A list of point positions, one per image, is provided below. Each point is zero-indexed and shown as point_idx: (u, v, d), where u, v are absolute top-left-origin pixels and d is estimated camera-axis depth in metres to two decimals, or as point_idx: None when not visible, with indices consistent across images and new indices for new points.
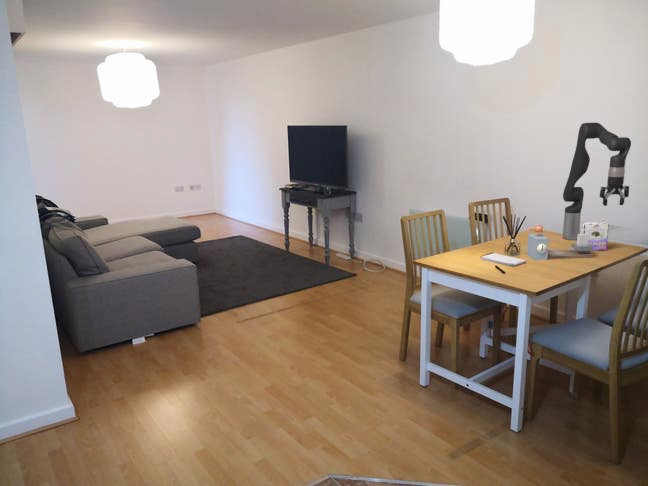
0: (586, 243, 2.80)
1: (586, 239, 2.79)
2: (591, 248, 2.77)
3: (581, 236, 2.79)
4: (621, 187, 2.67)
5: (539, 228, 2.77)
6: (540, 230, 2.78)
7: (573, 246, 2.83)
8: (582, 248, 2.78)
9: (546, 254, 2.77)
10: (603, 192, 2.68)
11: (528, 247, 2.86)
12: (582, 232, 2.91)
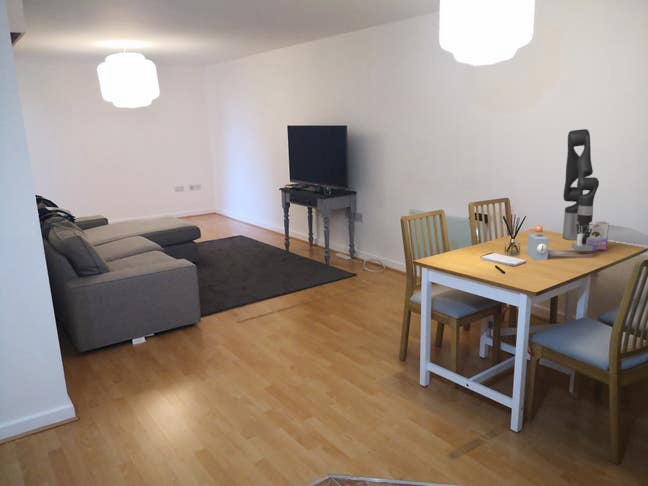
0: (586, 243, 2.80)
1: None
2: (591, 248, 2.77)
3: (581, 236, 2.79)
4: None
5: (539, 228, 2.77)
6: (540, 230, 2.78)
7: (573, 246, 2.83)
8: (582, 248, 2.78)
9: (546, 254, 2.77)
10: None
11: (528, 247, 2.86)
12: None
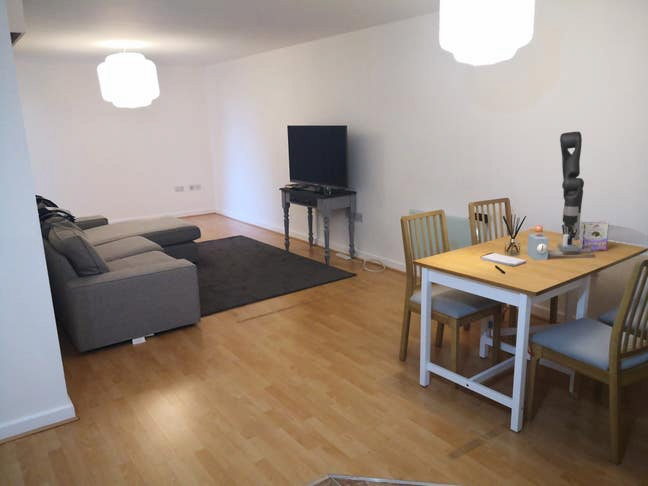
0: (572, 243, 2.80)
1: (572, 239, 2.79)
2: (576, 248, 2.78)
3: (567, 236, 2.79)
4: None
5: (539, 228, 2.77)
6: (540, 230, 2.78)
7: (559, 246, 2.84)
8: (568, 248, 2.78)
9: (546, 254, 2.77)
10: None
11: (528, 247, 2.86)
12: (582, 232, 2.91)
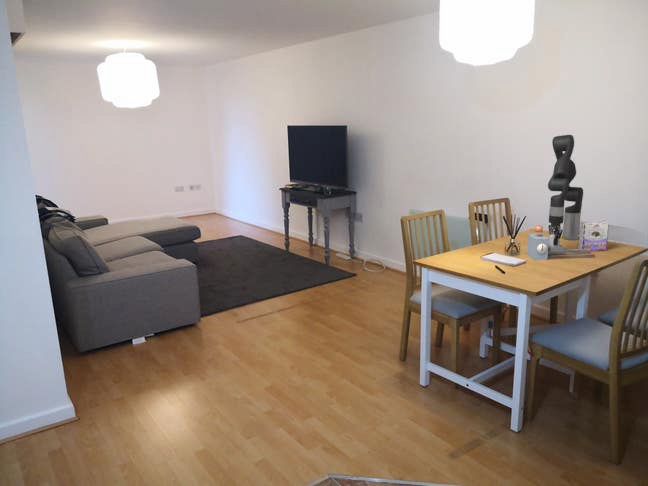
0: (558, 244, 2.80)
1: (558, 240, 2.80)
2: (562, 249, 2.78)
3: (553, 237, 2.79)
4: None
5: (539, 228, 2.77)
6: (540, 230, 2.78)
7: None
8: (554, 249, 2.78)
9: (546, 254, 2.77)
10: None
11: (528, 247, 2.86)
12: (582, 232, 2.91)
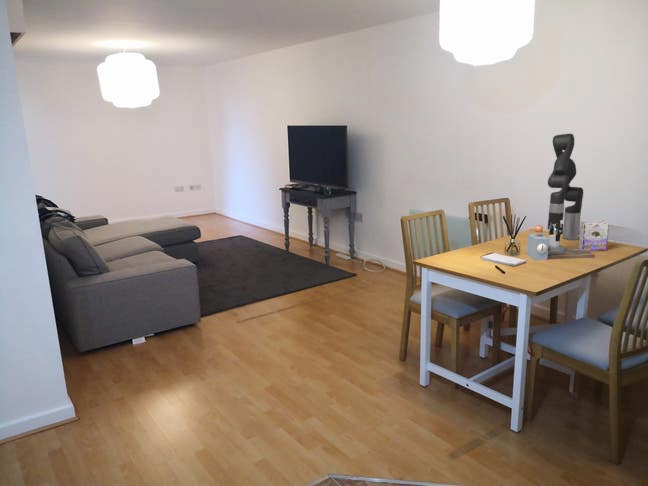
0: (557, 244, 2.80)
1: None
2: (562, 249, 2.78)
3: (552, 237, 2.79)
4: None
5: (539, 228, 2.77)
6: (540, 230, 2.78)
7: None
8: (553, 249, 2.78)
9: (546, 254, 2.77)
10: None
11: (528, 247, 2.86)
12: (582, 232, 2.91)
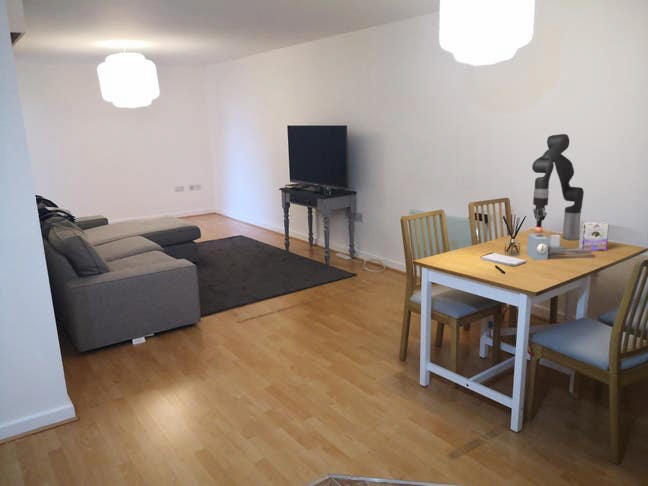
0: (557, 244, 2.80)
1: (557, 240, 2.80)
2: (562, 249, 2.78)
3: (552, 237, 2.79)
4: None
5: (539, 229, 2.78)
6: (540, 231, 2.78)
7: None
8: (553, 249, 2.78)
9: (546, 254, 2.77)
10: None
11: (528, 247, 2.86)
12: (582, 232, 2.91)
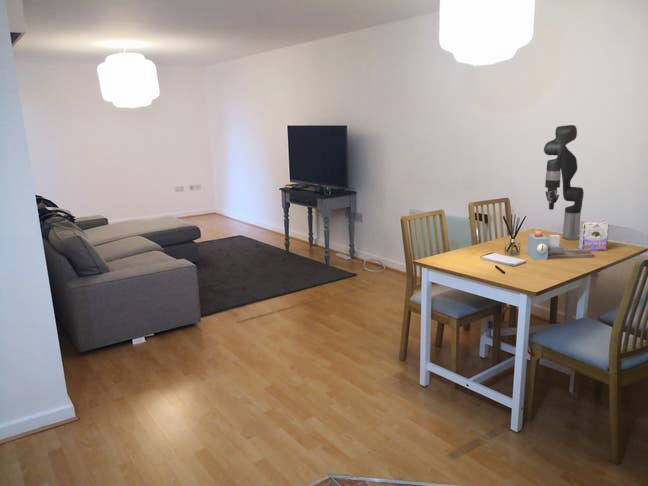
0: (557, 244, 2.80)
1: (557, 240, 2.80)
2: (562, 249, 2.78)
3: (552, 237, 2.79)
4: None
5: (539, 233, 2.78)
6: (540, 234, 2.78)
7: None
8: (553, 249, 2.78)
9: (546, 254, 2.77)
10: None
11: (528, 247, 2.86)
12: (582, 232, 2.91)
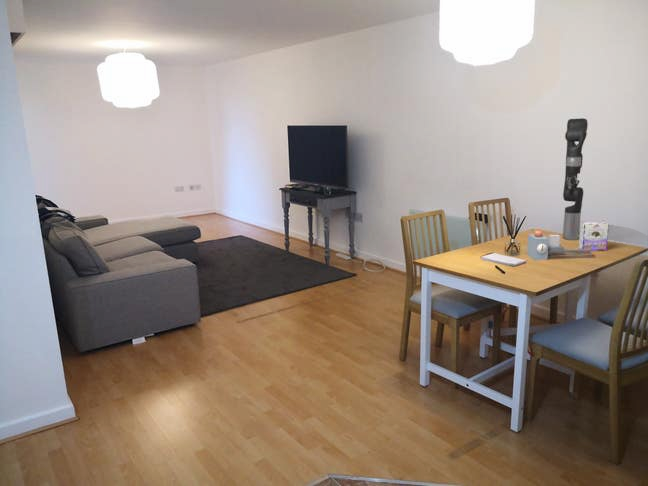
0: (557, 244, 2.80)
1: (557, 240, 2.80)
2: (562, 249, 2.78)
3: (552, 237, 2.79)
4: None
5: (539, 233, 2.78)
6: (540, 234, 2.78)
7: None
8: (553, 249, 2.78)
9: (546, 254, 2.77)
10: None
11: (528, 247, 2.86)
12: (582, 232, 2.91)
